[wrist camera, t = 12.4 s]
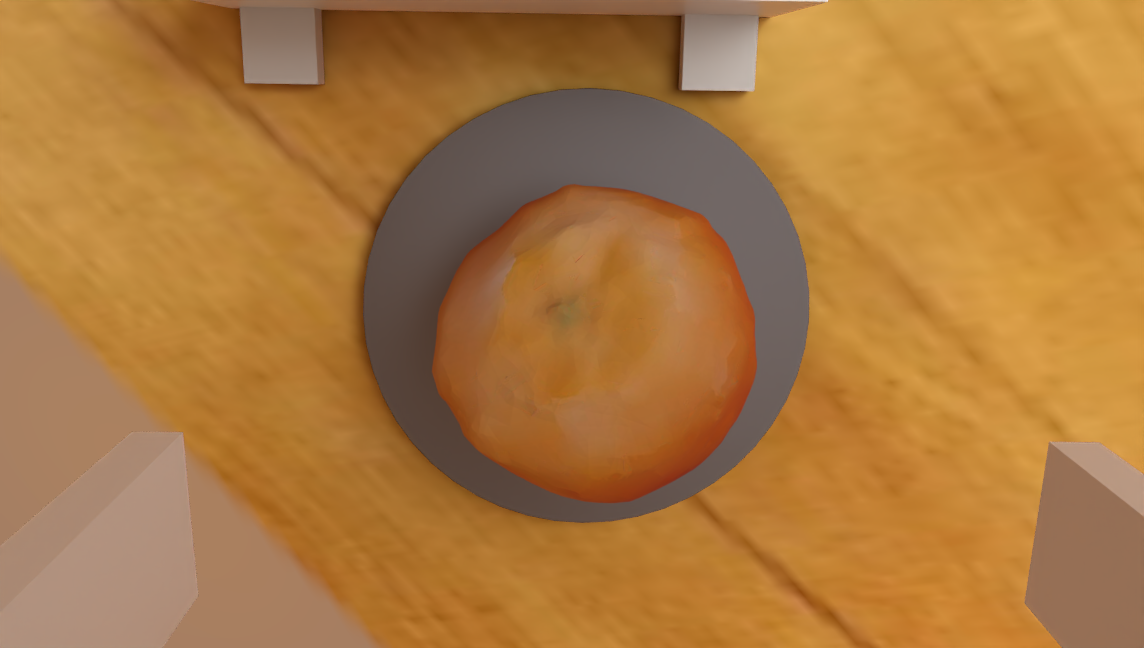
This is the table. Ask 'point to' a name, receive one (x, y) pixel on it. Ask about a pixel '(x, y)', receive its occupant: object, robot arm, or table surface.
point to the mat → (533, 170)
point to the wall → (706, 3)
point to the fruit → (597, 343)
